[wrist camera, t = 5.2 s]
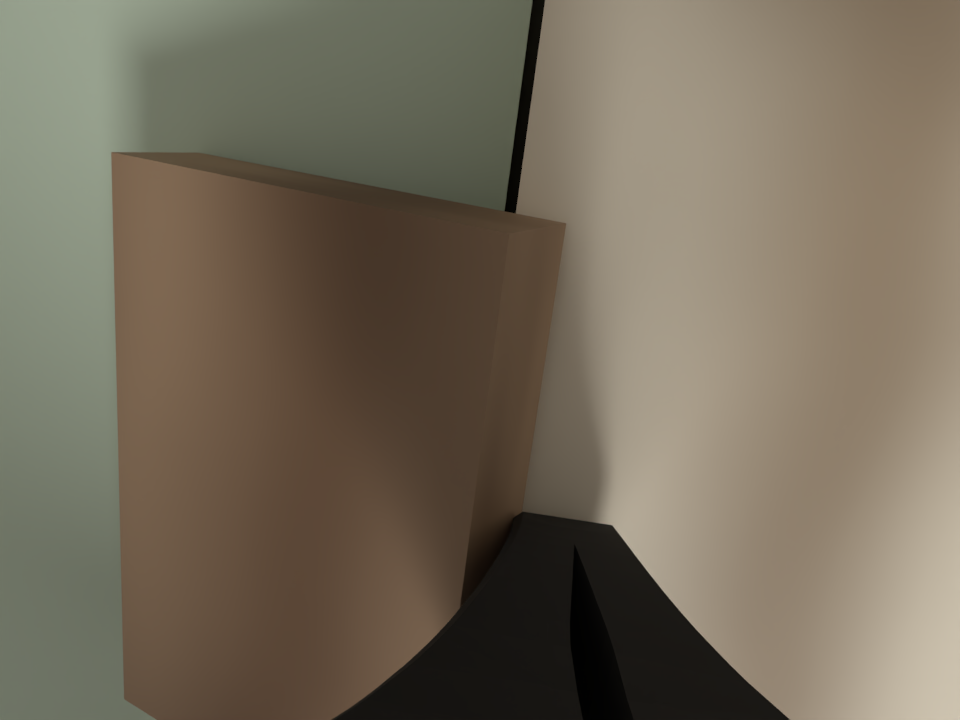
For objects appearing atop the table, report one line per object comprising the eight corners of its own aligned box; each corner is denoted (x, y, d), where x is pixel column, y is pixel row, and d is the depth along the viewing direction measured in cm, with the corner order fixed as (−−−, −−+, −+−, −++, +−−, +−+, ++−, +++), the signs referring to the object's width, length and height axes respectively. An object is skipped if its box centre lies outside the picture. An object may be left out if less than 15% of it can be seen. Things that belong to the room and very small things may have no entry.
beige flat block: (431, 829, 16) (412, 956, 14) (554, -50, 11) (558, -92, 9) (806, 889, 16) (854, 1029, 13) (1102, 20, 11) (1262, -4, 8)
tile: (194, 651, 15) (123, 698, 13) (198, 152, 12) (111, 152, 11) (476, 811, 12) (422, 888, 11) (566, 222, 9) (509, 233, 8)
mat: (-216, 726, 16) (-230, 737, 16) (-379, -166, 11) (-402, -173, 11) (421, 827, 16) (419, 841, 16) (539, -51, 11) (540, -56, 11)
